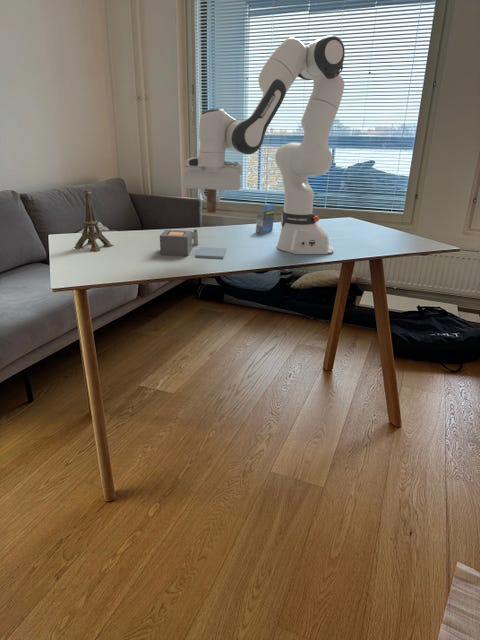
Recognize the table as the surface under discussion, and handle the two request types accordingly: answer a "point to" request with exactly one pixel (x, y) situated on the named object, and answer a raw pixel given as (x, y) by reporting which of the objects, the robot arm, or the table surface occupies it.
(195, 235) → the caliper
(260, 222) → the label tape box
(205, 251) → the rest pad
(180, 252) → the box
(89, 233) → the eiffel tower
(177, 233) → the button
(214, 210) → the brown rectangular block
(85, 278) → the table surface
